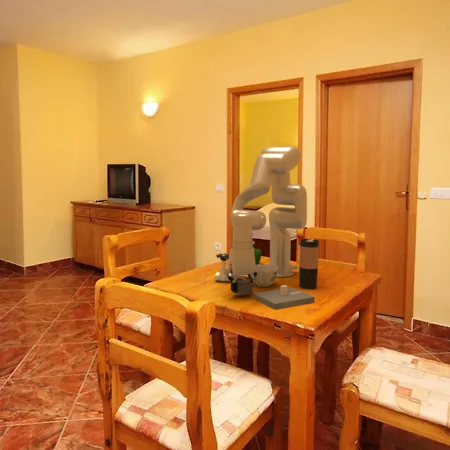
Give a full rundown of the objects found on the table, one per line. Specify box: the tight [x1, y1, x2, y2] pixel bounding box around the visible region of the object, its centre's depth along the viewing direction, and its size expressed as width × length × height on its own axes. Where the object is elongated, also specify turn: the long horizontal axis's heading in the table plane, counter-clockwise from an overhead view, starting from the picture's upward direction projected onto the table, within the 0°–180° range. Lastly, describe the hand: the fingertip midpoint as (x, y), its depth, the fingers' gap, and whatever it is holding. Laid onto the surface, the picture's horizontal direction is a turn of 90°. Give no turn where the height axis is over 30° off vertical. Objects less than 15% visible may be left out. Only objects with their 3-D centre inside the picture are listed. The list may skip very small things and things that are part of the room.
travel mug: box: [298, 238, 320, 290], centre depth 172 cm, size 8×8×20 cm
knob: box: [235, 275, 254, 296], centre depth 159 cm, size 7×7×6 cm
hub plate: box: [252, 284, 315, 310], centre depth 154 cm, size 18×14×6 cm
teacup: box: [253, 263, 279, 288], centre depth 174 cm, size 15×12×8 cm
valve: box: [215, 252, 231, 283], centre depth 179 cm, size 7×7×12 cm
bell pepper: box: [252, 245, 262, 265], centre depth 213 cm, size 8×8×10 cm
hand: (242, 290), depth 159 cm, fingers closed on knob, 6 cm apart
